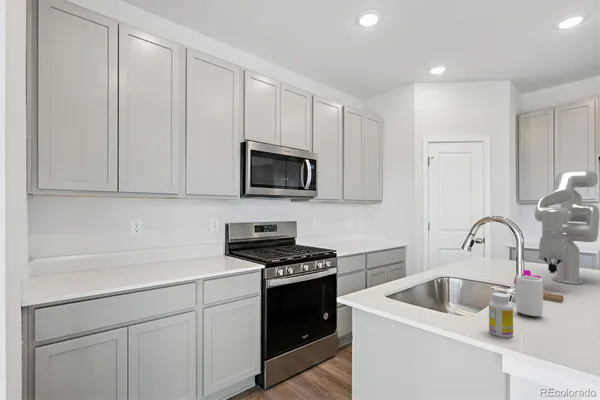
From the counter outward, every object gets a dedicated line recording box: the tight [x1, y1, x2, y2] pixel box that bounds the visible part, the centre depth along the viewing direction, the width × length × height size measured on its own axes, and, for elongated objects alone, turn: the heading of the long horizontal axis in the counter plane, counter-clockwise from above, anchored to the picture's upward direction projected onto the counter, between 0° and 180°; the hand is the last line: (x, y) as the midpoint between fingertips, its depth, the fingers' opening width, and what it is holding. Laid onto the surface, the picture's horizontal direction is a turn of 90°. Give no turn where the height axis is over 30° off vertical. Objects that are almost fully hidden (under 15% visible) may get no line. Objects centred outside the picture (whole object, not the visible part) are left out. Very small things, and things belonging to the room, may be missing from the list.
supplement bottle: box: [488, 292, 514, 339], centre depth 104 cm, size 7×7×13 cm
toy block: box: [523, 269, 542, 279], centre depth 159 cm, size 15×6×8 cm, turn 163°
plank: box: [543, 291, 564, 304], centre depth 144 cm, size 7×18×2 cm, turn 44°
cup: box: [515, 276, 544, 317], centre depth 120 cm, size 8×8×14 cm
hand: (552, 272), depth 153 cm, fingers closed
